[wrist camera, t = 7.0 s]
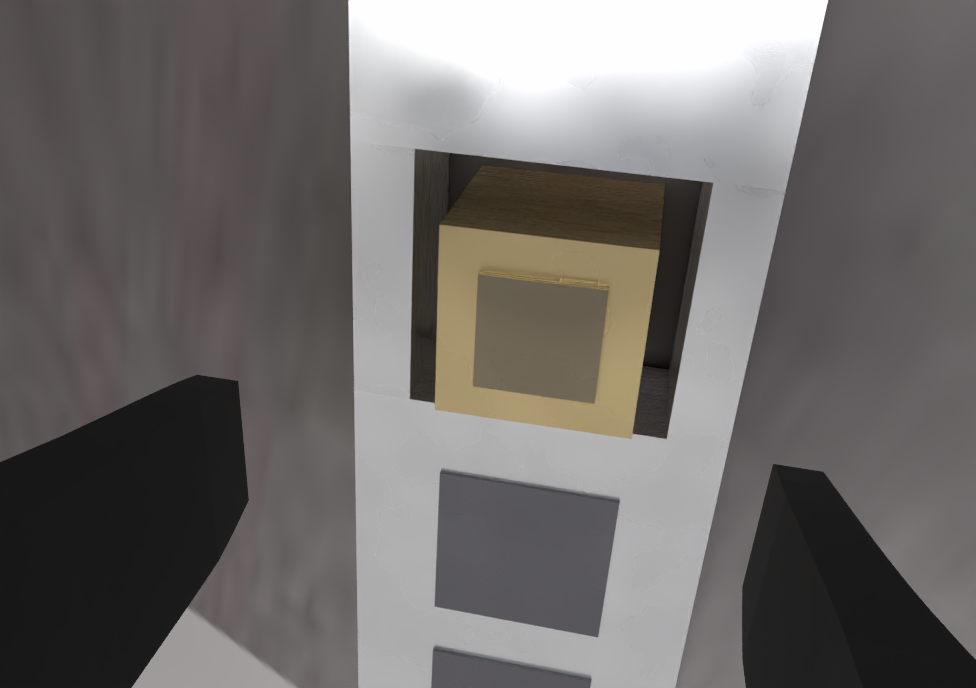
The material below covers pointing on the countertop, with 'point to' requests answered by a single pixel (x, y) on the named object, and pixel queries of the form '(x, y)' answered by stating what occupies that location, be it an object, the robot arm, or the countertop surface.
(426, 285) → the grey board with holes
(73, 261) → the countertop surface
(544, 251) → the block
